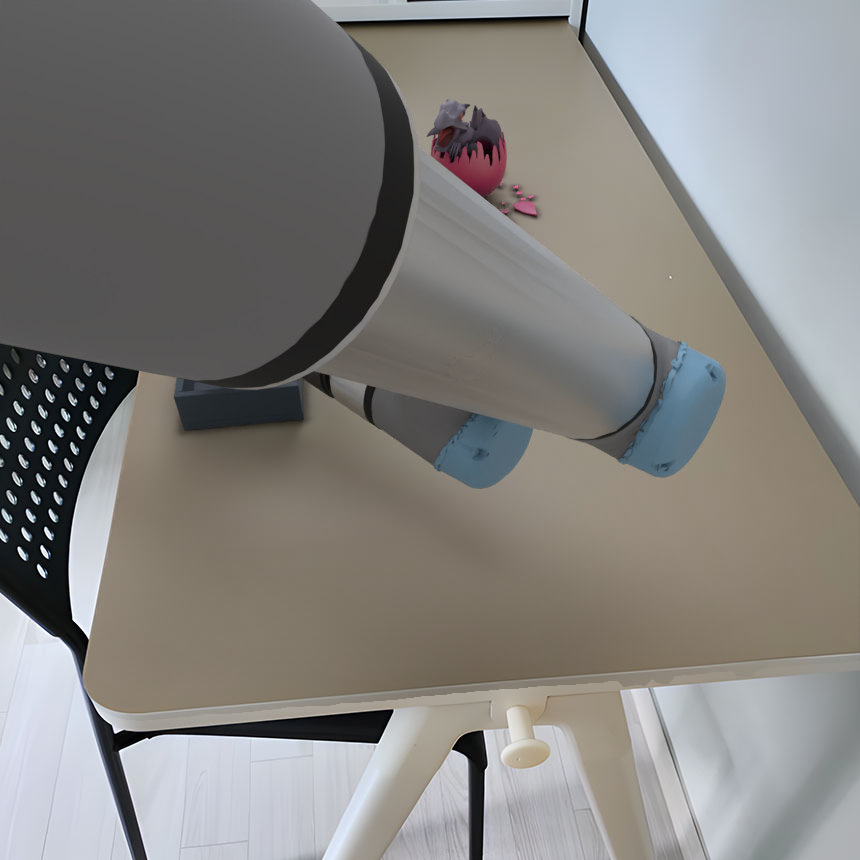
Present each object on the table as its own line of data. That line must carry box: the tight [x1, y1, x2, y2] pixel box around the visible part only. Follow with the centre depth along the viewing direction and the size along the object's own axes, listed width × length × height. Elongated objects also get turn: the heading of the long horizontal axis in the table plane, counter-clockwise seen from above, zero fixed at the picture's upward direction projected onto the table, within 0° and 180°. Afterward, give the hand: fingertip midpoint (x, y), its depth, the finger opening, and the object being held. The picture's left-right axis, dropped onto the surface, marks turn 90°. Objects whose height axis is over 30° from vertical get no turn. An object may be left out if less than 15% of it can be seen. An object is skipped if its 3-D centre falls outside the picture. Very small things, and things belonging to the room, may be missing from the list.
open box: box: [173, 377, 305, 431], centre depth 83 cm, size 13×11×4 cm
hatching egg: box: [426, 98, 538, 216], centre depth 106 cm, size 20×16×14 cm
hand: (192, 258), depth 78 cm, fingers closed on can, 7 cm apart
